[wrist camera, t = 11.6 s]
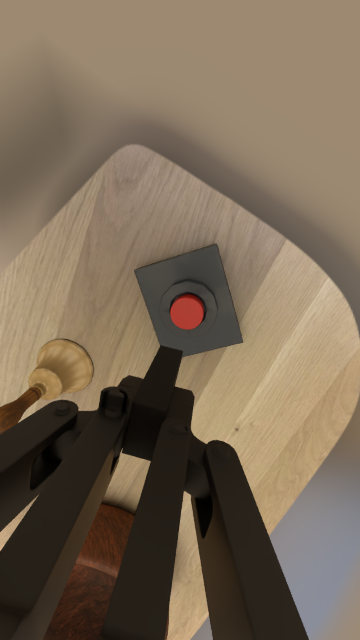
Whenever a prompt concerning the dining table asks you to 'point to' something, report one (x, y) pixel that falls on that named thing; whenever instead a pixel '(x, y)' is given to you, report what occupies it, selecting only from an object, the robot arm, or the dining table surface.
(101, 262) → the dining table surface
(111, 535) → the wooden bowl
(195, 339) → the push button switch
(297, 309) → the dining table surface
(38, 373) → the hand bell
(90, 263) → the dining table surface
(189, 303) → the button
